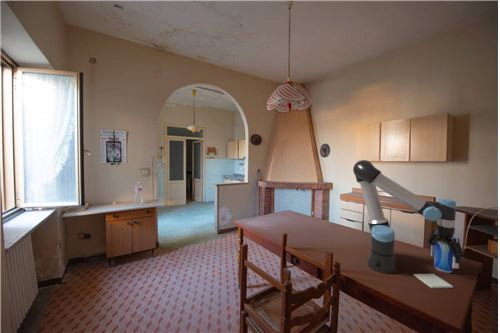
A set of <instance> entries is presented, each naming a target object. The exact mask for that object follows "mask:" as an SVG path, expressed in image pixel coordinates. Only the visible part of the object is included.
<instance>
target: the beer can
mask: <svg viewBox="0 0 500 333" xmlns="http://www.w3.org/2000/svg"><path fill="white" fill-rule="evenodd" d="M453 256H454V254H453V252H452V250H451V249H450V247H449V245H448V244H447V243H445V242H444V241H437V243H436V244H435V255H434V256H433V257H434V258H433V261H434V262H433V266H434V267H435V269H436V270H437V271H440V272H442V273H445V274H450V273H452V272H454V269H455V268H452V267H453Z"/></svg>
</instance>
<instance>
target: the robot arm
mask: <svg viewBox="0 0 500 333" xmlns="http://www.w3.org/2000/svg"><path fill="white" fill-rule="evenodd" d="M352 171H353V172H352V173H353V174H354V176H355V179H356V182H357V183H358V184H359V185H360V189H361V192H362V196H363V199H364V203H365V207H366V210H367V213H368V214H367V215H368V218H369V219H368V221H367V224H368V228H369V232H370V252H369V255H368V258H367V260H366V264H367V266H368V267H369V268H370V269H371V270H374V271H376V272H380V273H383V274H394V273H397V271H398V266H397V263H396V260H395V238H396V234H395V230H394V229H393V228H391V226H390V222H389V219H388V218H386V217H385V214H384V211H383V207H382V204H381V200H380V197H379V193H378V189H377V188H379V189H380V190H382V191H383V192H385V193H387V194H388V195H389V196H391V197H392V198H395V199H396V200H398V201H399V202H401V203H402V204H403V205H405V206H406V207H408V208H410V209H412V210H411V211H412V212H413V213H414V214H419V215H421V216H422V217H423V218H424V219H425V220H427V221H430V222H436V224H437V225H436V229H433V230H432V233H431V235H430V236H429V238H428V240H427V243H428V244H429V245H430V248H429V249H430V256H431V257H434V255H435V244H436V243H437V241H444V242H445V243H447V244H448V245H449V247H450V249H451V250H452V252H453V254H454V256H453V267H452V268H454V269H460V268H459V267H460V263H461V258H463V259H465V258H466V257H465V253H464V251H463V248H462V246H461V242H460V238H458V237H454V235H455V232H456V228H455V227H456V213H457V212H456V211H457V203H456V201H455V200H454V199H450V198H438V200H437V201H429V200H428V201H427V200H425V199H423V198H421V197H420V196H418V195H417V194H415V193H413V192H412V191H410V190H408V189H407V188H405V187H403V185H400V184H399V183H397V182H396V181H394V180H392V179H391V178H389V177H388V176H386V175H384V174H383V173H382V171H381V170H379V169H378V168H377V167H375V166H374V165H373V163H372V162H371V161H369V160H365V159H362V160H358V161H357V162H356V163H355V164H354V165H353V169H352Z"/></svg>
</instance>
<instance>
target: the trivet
mask: <svg viewBox="0 0 500 333" xmlns="http://www.w3.org/2000/svg"><path fill="white" fill-rule="evenodd" d="M413 276H414V277H416V278H417V279H418V280H420V281H421V282H422V283H424V284H425V285H427V286H428V287H429V288H431V289H453V288H454V286H453V285H452V284H450V283H449V282H447V281H446V280H444V279H443V278H441V277H439V276H438V275H436V274H435V273H414V274H413Z"/></svg>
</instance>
